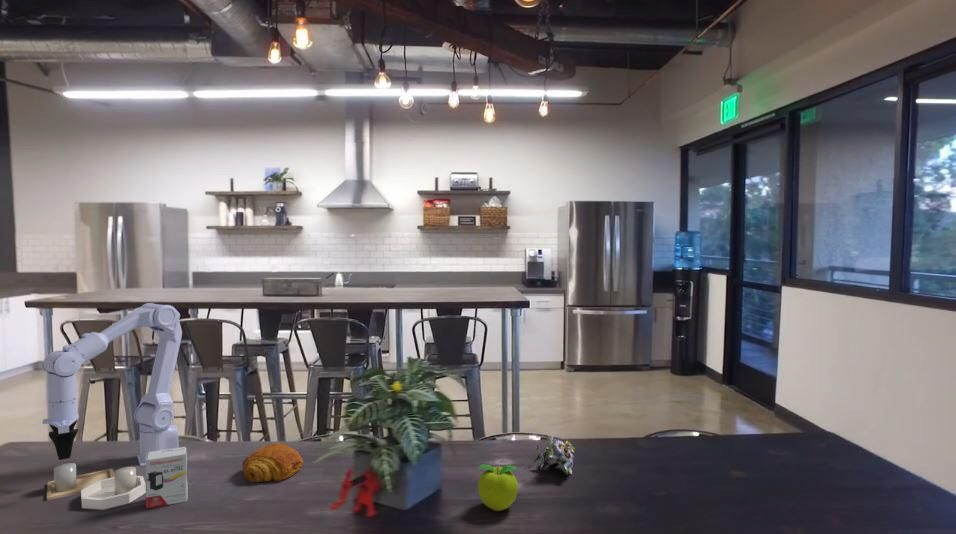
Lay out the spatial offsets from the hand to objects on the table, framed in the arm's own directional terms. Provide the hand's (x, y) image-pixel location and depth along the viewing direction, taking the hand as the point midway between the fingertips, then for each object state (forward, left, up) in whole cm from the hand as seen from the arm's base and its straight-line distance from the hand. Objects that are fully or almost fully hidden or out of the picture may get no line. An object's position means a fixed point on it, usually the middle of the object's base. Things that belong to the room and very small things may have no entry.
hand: (64, 453), depth 134 cm
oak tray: (-3, 0, -9) cm, 10 cm away
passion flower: (-105, +66, -9) cm, 124 cm away
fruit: (-80, +72, -9) cm, 108 cm away
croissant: (-45, +20, -10) cm, 50 cm away
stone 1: (0, 0, -9) cm, 9 cm away
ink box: (-19, +22, -9) cm, 30 cm away
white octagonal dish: (-9, +12, -9) cm, 18 cm away
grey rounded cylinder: (-12, +12, -8) cm, 19 cm away
